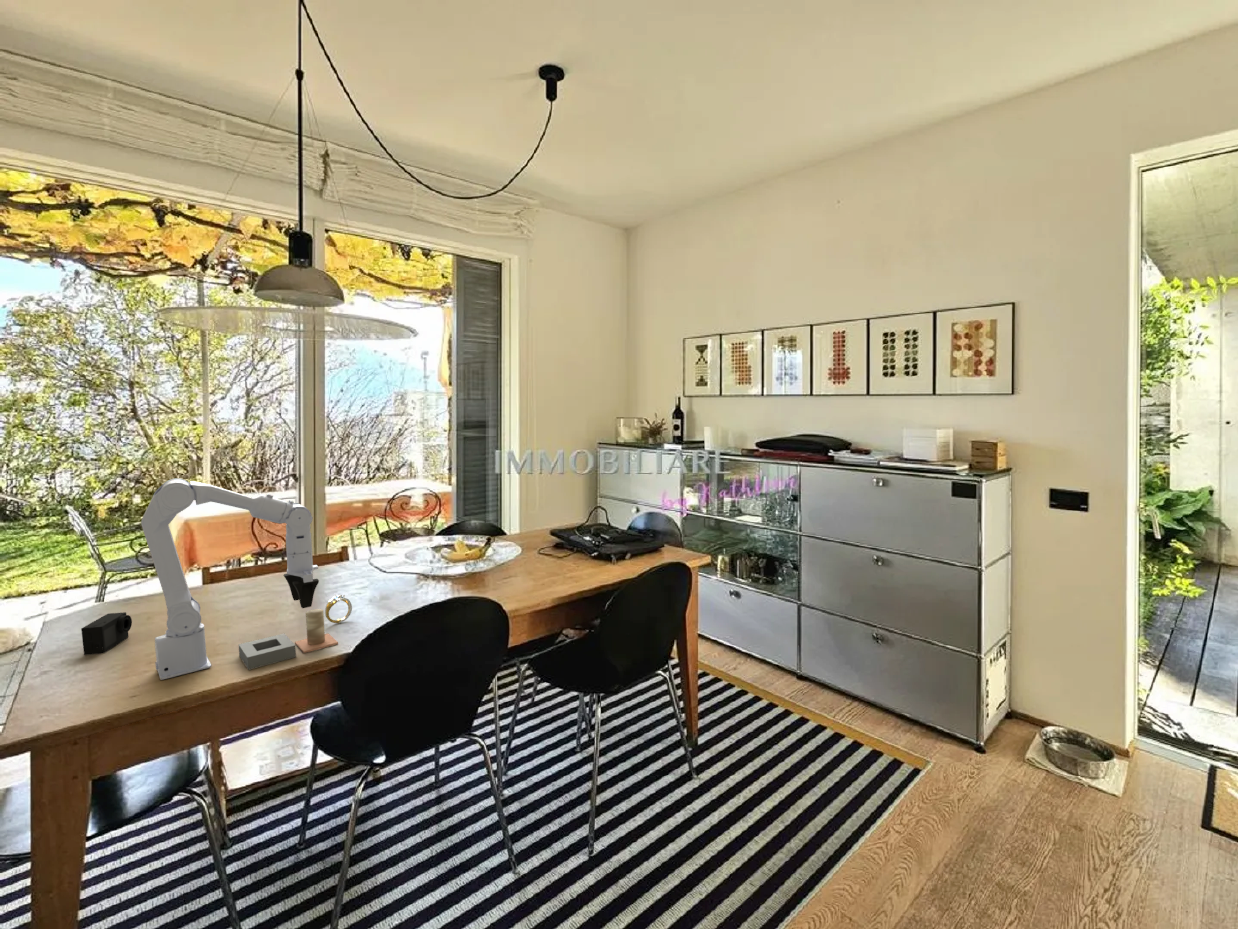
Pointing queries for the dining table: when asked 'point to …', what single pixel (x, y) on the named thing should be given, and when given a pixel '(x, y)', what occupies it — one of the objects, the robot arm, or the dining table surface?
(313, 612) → the peg
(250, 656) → the pocket block
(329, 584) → the dining table surface
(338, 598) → the ring
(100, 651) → the digital camera
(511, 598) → the dining table surface
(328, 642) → the pad
